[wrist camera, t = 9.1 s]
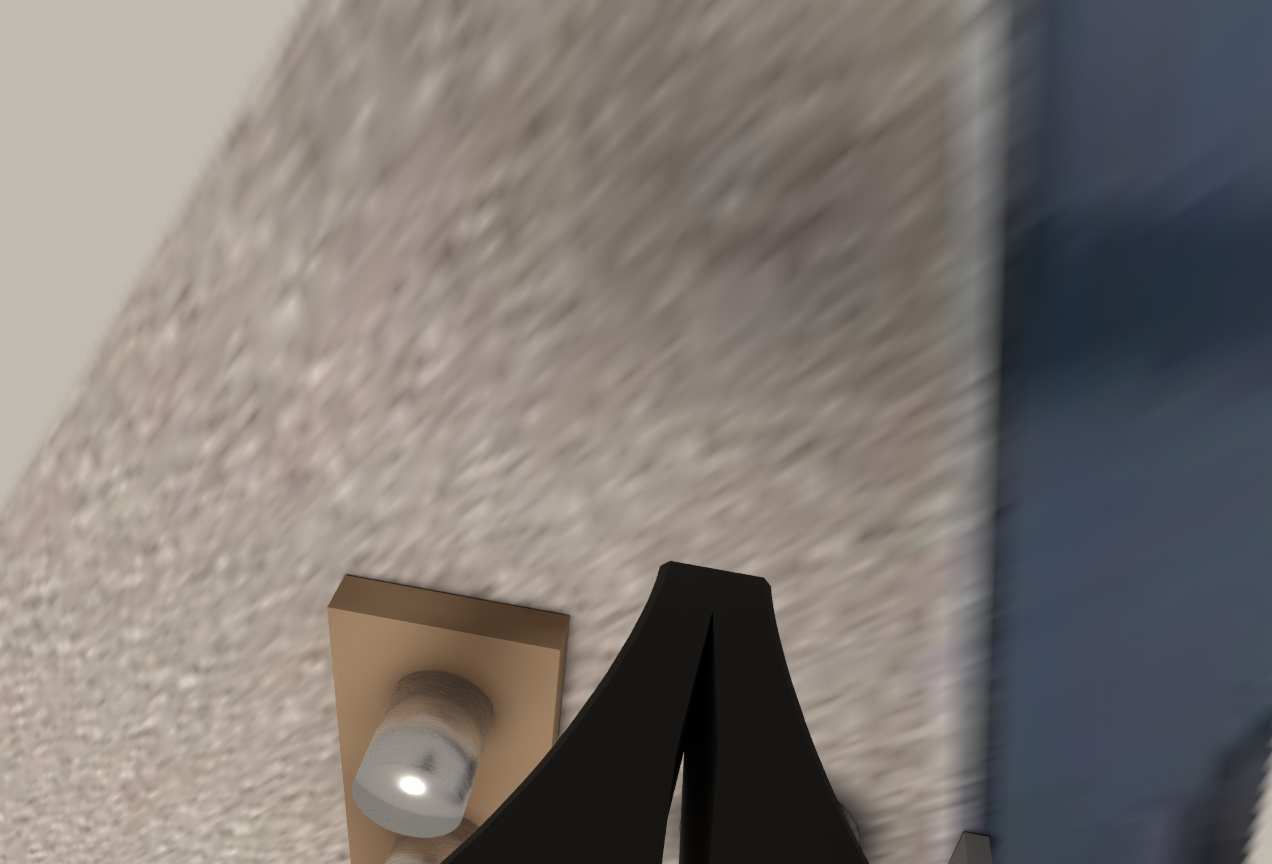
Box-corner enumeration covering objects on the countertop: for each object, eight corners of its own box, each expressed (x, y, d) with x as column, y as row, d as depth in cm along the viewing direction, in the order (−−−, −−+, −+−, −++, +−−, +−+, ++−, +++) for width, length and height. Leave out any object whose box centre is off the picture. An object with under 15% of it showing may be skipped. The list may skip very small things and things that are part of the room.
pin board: (569, 615, 27) (533, 747, 24) (544, 877, 34) (513, 1008, 31) (345, 574, 28) (277, 698, 24) (365, 842, 35) (315, 967, 31)
